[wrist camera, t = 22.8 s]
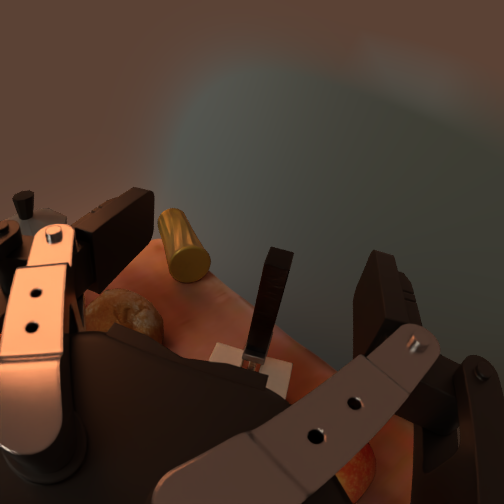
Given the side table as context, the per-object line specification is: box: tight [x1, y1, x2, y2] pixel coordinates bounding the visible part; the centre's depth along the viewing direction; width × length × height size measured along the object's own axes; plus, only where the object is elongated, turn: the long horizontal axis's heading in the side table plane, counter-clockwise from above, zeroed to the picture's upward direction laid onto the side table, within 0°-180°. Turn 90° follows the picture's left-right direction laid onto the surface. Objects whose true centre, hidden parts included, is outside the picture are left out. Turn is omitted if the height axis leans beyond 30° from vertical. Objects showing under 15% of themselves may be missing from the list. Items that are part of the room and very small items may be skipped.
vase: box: [158, 208, 211, 283], centre depth 51 cm, size 6×6×14 cm
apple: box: [335, 443, 376, 504], centre depth 22 cm, size 8×8×8 cm
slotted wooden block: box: [209, 342, 293, 399], centre depth 29 cm, size 8×8×5 cm
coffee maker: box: [6, 190, 67, 236], centre depth 29 cm, size 15×9×18 cm, turn 45°
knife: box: [242, 247, 294, 371], centre depth 28 cm, size 4×2×18 cm, turn 166°
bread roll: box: [85, 289, 163, 345], centre depth 35 cm, size 10×10×8 cm
